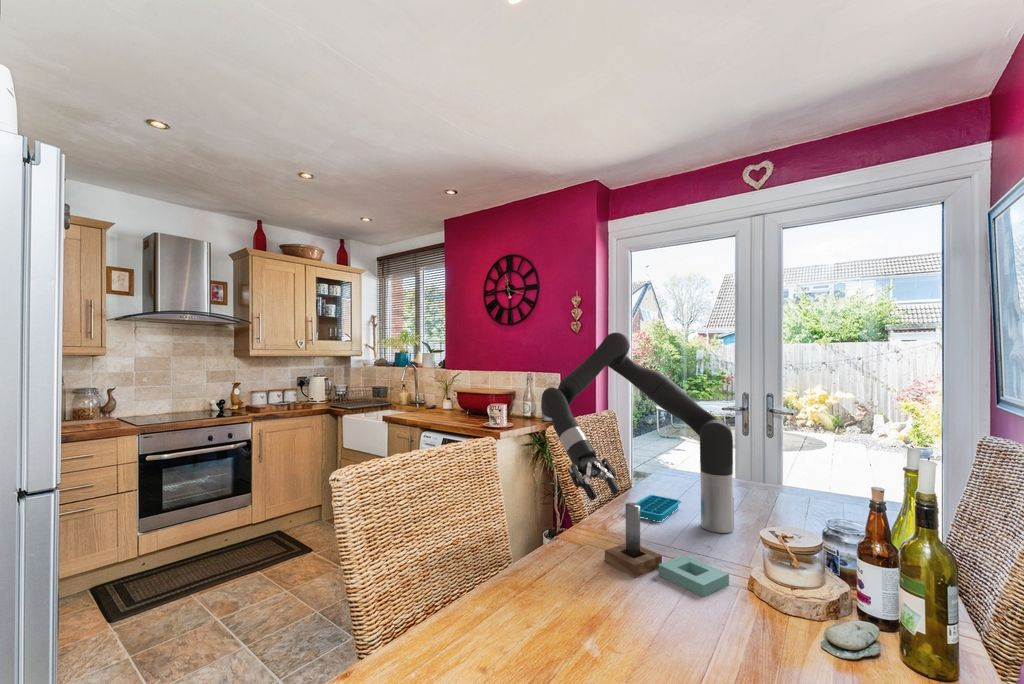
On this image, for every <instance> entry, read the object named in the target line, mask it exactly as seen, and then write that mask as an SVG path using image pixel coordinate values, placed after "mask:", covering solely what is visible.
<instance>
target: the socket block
mask: <svg viewBox="0 0 1024 684" xmlns="http://www.w3.org/2000/svg"><path fill="white" fill-rule="evenodd" d="M604 563H606V564H608V565H610V566H612V567H613V568H615V569H618V570H619V571H621V572H623V573H625V574H627V575H628V576H630V577H633V578H634V579H637V578H639V577H641V576H644V575H647V574H649V573H651V572H654V571H656V570H658V564H661V563H663V555H662V554H660V553H657V552H655V551H653V550H651V549H649V548H646V547H644V546H642V545H640V557H637V558H632V557H630V556H628V555H626V543H623V544H620V545H617V546H613V547H610V548H607V549H604Z"/></svg>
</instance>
